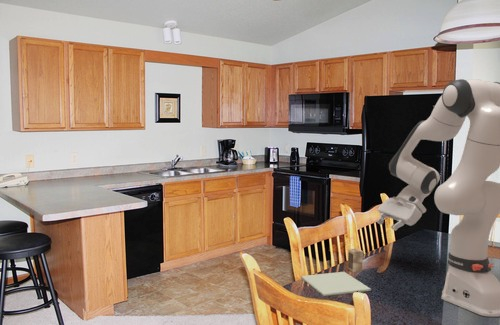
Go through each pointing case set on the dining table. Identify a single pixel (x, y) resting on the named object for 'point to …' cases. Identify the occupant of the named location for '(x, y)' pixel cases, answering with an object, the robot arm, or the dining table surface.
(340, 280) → the sage mat
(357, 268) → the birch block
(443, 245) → the dining table surface
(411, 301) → the dining table surface
